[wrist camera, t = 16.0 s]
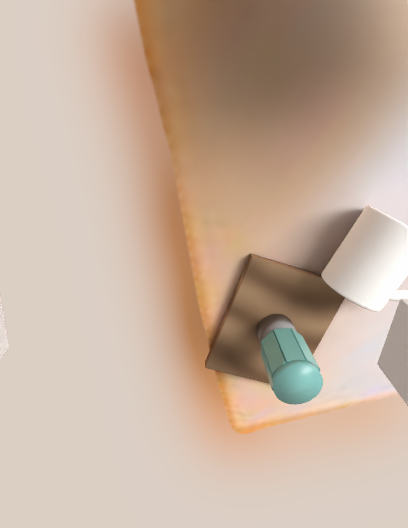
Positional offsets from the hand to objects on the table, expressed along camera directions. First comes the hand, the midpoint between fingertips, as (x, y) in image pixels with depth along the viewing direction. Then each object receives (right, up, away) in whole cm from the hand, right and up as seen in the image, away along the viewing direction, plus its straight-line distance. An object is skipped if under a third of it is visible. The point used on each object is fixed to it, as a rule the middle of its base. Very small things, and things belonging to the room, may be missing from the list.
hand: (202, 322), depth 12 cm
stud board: (+10, -7, +37) cm, 39 cm away
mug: (+22, +4, +34) cm, 40 cm away
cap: (+10, -9, +33) cm, 35 cm away
